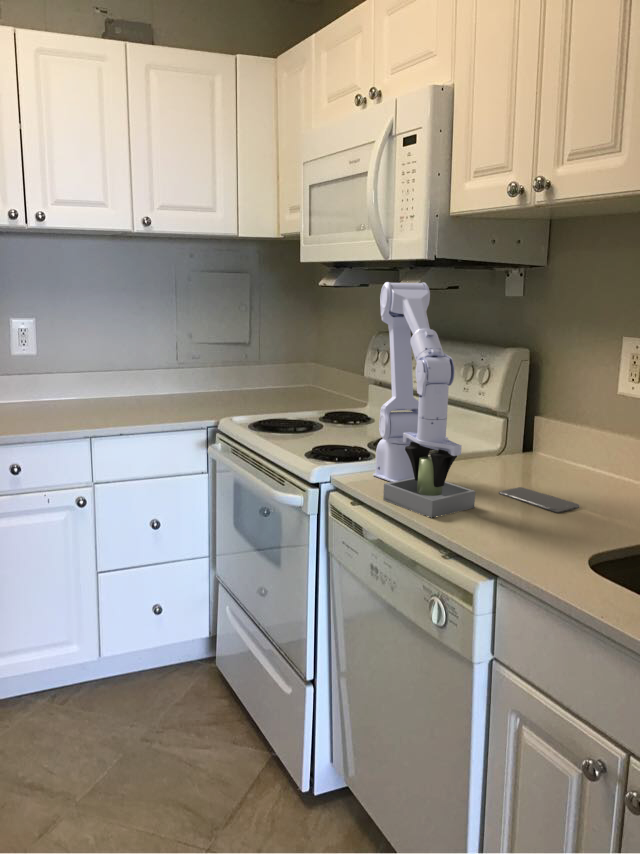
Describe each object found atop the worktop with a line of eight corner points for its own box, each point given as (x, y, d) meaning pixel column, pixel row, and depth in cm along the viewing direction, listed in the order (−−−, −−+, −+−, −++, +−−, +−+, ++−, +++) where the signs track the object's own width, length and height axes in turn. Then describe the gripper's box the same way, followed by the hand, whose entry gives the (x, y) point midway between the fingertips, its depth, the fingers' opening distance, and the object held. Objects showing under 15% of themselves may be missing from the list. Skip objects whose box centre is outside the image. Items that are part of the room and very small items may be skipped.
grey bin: (383, 500, 152) (383, 483, 151) (425, 490, 159) (425, 475, 158) (431, 518, 141) (432, 500, 140) (474, 507, 148) (475, 491, 147)
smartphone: (520, 486, 162) (581, 504, 148) (520, 491, 162) (581, 509, 149) (497, 491, 158) (557, 510, 144) (496, 496, 158) (557, 515, 145)
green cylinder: (411, 491, 150) (414, 457, 148) (428, 488, 153) (431, 455, 151) (429, 497, 146) (432, 462, 144) (446, 493, 149) (449, 460, 147)
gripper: (473, 421, 143) (469, 488, 145) (421, 409, 154) (418, 472, 157) (448, 425, 138) (444, 494, 141) (396, 412, 150) (393, 477, 153)
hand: (429, 483), depth 149 cm, fingers closed on green cylinder, 5 cm apart
